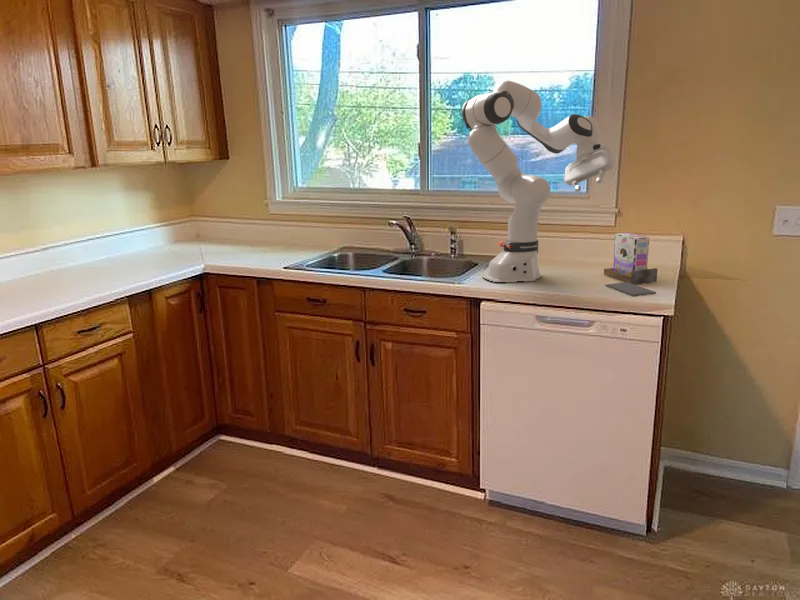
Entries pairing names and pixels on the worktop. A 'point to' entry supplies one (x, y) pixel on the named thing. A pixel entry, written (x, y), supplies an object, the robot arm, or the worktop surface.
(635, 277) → the holder
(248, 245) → the worktop surface
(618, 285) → the mat
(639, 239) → the candy box
